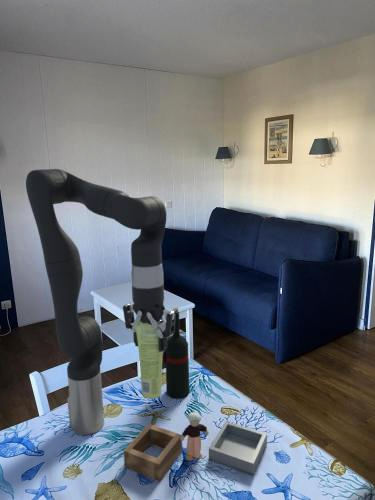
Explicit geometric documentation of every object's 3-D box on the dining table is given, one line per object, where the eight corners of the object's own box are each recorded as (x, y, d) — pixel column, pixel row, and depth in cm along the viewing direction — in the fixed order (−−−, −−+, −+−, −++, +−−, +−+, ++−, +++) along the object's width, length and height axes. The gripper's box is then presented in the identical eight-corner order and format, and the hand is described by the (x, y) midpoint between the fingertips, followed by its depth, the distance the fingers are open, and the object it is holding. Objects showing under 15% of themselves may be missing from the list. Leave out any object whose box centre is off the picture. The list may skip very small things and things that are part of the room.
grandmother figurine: (185, 465, 96) (184, 421, 94) (179, 455, 100) (178, 413, 97) (211, 454, 100) (211, 412, 97) (204, 445, 103) (203, 404, 101)
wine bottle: (161, 385, 133) (157, 304, 126) (189, 385, 132) (188, 304, 126) (158, 399, 125) (155, 313, 119) (189, 399, 125) (187, 313, 118)
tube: (156, 385, 99) (153, 315, 95) (167, 393, 95) (165, 321, 91) (137, 393, 95) (134, 321, 91) (149, 402, 91) (145, 327, 87)
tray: (208, 459, 98) (208, 448, 98) (225, 431, 109) (225, 421, 108) (253, 475, 93) (253, 463, 92) (266, 444, 103) (267, 433, 103)
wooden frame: (124, 467, 96) (123, 450, 95) (149, 439, 106) (148, 423, 105) (159, 482, 92) (159, 464, 90) (182, 451, 102) (181, 434, 100)
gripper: (182, 281, 89) (183, 347, 92) (131, 275, 95) (135, 336, 99) (165, 290, 82) (168, 360, 86) (113, 282, 89) (117, 348, 92)
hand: (150, 347), depth 92 cm, fingers closed on tube, 6 cm apart
